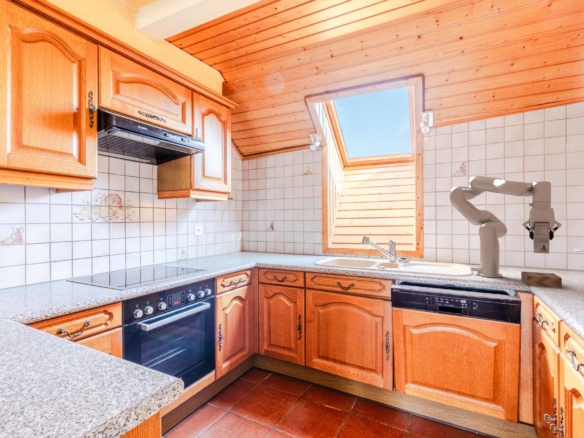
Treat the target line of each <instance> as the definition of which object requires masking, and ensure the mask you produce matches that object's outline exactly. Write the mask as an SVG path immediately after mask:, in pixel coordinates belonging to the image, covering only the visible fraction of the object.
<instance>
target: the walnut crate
mask: <svg viewBox="0 0 584 438" xmlns="http://www.w3.org/2000/svg"><path fill="white" fill-rule="evenodd" d="M520 277H521V279H520V281H521V282H522V281H523V282H522V283H523V284H525V285H526V286H530V287H533V286H534V287H543V288H553V289H556V288H557V289H562V286H563V278H562V277H561V276H559V275H557V274H555V273H550V272H535V271H522V270H521V272H520Z"/></svg>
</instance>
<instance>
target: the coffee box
mask: <svg viewBox="0 0 584 438" xmlns="http://www.w3.org/2000/svg"><path fill="white" fill-rule="evenodd" d="M533 232H534V239H533V241H532V242H533V243H532V245H533V253H534V254H550V240H549V234H550V222H534V230H533Z"/></svg>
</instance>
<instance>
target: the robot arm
mask: <svg viewBox="0 0 584 438" xmlns="http://www.w3.org/2000/svg"><path fill="white" fill-rule="evenodd" d="M468 184H469V185H468V186H463V185H460V186H455V187H453V188H452V189H451V190H450V192H449V201H450V203H451V205H452V207H454V208H455V209H456V210H457V211H458V213H460V214H461V215H462V216H463V217H464V218H465V219H466V220H467V221H468V222H469V223H471V224H472V225H474V226H479V229H478V236H479V242H480V244H479V245H480V247H479V249H480V252H479V253H480V259H479V260H480V261H479V263H480V264H479V266H478V267H470V268H471V269H470V271H473V272H476V275H478V276H480V277H486V278H502V277H503V274H502V273H500V243H499V238H503V237H504V236H506V235H507V234H508V228H507V226H506V224H505V223H504V222H503V221H501V220H500V219H499V218H498V217H497V216H496V215H495V214H493V213H492V212H490V211H489V210H486V209H478V207H476V206H475V205H474V204H473V203H471V200H473V199H475V198H477V197H478V196H480V195H481V194H483V193H485V192H489V193H495V194H502V195H507V196H513V197H514V196H515V197H532V202H530V203H528V206H529V207H531V208H530V210H529V214H528V215H529V217H528V220H526V221H525V222H523V223H521V226H522V227H524V228H525V229H526V230H527V231H528V236H529V238H530V240H533V239H534V222H550V234H549V241H553V239H554V237H555V235H554V233H555V232H556V231H557V230H558V229H560V228H561V227H562V225H563V224H562V223H560V222H558V221H557V220H556V216H555V209H554V208H553V207H552V183H551V182H550V181H547V180H546V181H545V180H544V181H543V180H542V181H535V182H524V181H515V180H514V181H513V180H508V179H502V178H500V177H491V176H485V175H484V176H483V175H474V176H472V177H471V178H470V179H469V182H468ZM555 225H556V226H555Z"/></svg>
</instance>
